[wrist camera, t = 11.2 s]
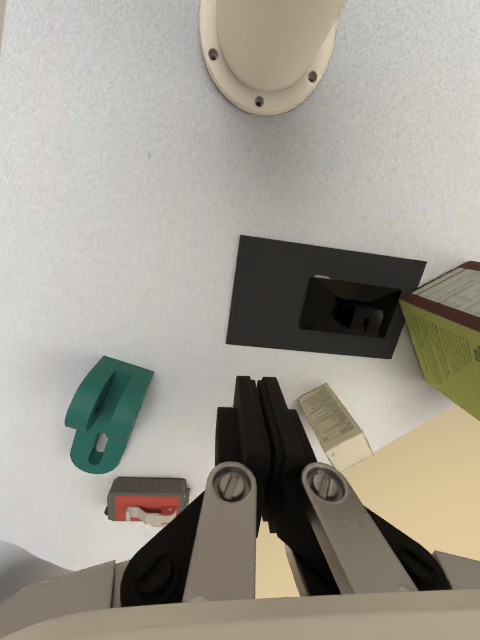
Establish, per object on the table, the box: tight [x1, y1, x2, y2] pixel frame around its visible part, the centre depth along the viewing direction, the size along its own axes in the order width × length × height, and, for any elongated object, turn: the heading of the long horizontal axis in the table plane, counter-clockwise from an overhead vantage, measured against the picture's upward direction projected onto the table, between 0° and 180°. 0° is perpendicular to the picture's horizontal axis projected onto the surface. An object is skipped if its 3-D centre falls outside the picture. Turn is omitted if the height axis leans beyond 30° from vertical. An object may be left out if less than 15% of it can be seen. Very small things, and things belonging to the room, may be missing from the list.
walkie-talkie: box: [104, 478, 190, 527], centre depth 42 cm, size 9×4×20 cm
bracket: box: [65, 356, 154, 474], centre depth 34 cm, size 18×7×8 cm, turn 156°
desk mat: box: [226, 235, 427, 359], centre depth 34 cm, size 14×24×1 cm, turn 82°
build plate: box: [298, 275, 402, 338], centre depth 32 cm, size 12×7×5 cm, turn 81°
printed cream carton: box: [298, 383, 374, 472], centre depth 35 cm, size 5×4×10 cm
